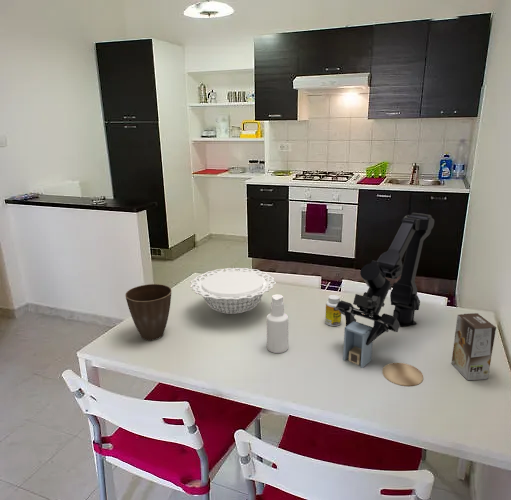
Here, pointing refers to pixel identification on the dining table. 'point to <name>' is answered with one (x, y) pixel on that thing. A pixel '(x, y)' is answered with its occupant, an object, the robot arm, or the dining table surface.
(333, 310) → the supplement bottle
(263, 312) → the dining table surface
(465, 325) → the coffee box
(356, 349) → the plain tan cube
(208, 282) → the white woven basket
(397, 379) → the coaster
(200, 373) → the dining table surface
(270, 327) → the spray bottle
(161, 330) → the plant pot
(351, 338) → the blue-grey open box
